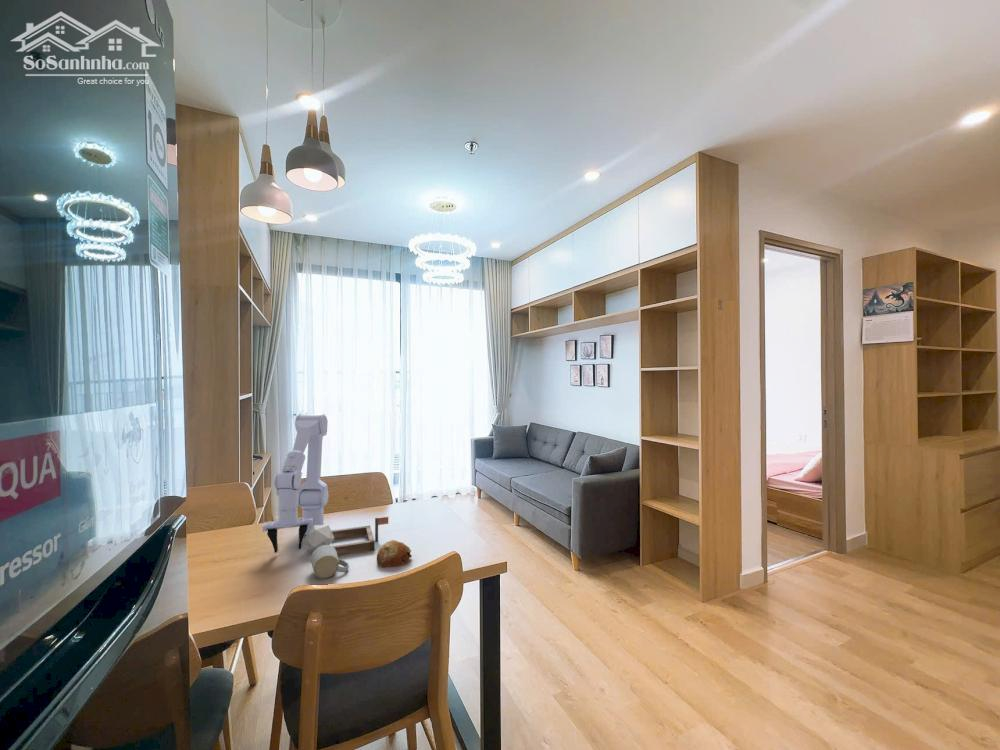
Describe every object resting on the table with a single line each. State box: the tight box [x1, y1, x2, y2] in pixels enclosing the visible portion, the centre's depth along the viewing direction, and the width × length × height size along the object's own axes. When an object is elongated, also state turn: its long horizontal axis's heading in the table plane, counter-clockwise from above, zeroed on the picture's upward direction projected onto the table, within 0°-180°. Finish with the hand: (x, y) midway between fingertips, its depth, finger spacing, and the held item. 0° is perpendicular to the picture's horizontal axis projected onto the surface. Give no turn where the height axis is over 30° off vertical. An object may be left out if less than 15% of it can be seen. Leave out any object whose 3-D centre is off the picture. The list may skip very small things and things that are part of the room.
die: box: [303, 524, 334, 552], centre depth 140 cm, size 8×9×10 cm
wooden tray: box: [331, 516, 389, 557], centre depth 145 cm, size 16×20×8 cm
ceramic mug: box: [310, 544, 350, 579], centre depth 124 cm, size 10×8×7 cm
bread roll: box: [376, 539, 412, 569], centre depth 132 cm, size 10×10×8 cm
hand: (288, 549), depth 137 cm, fingers open, 6 cm apart
